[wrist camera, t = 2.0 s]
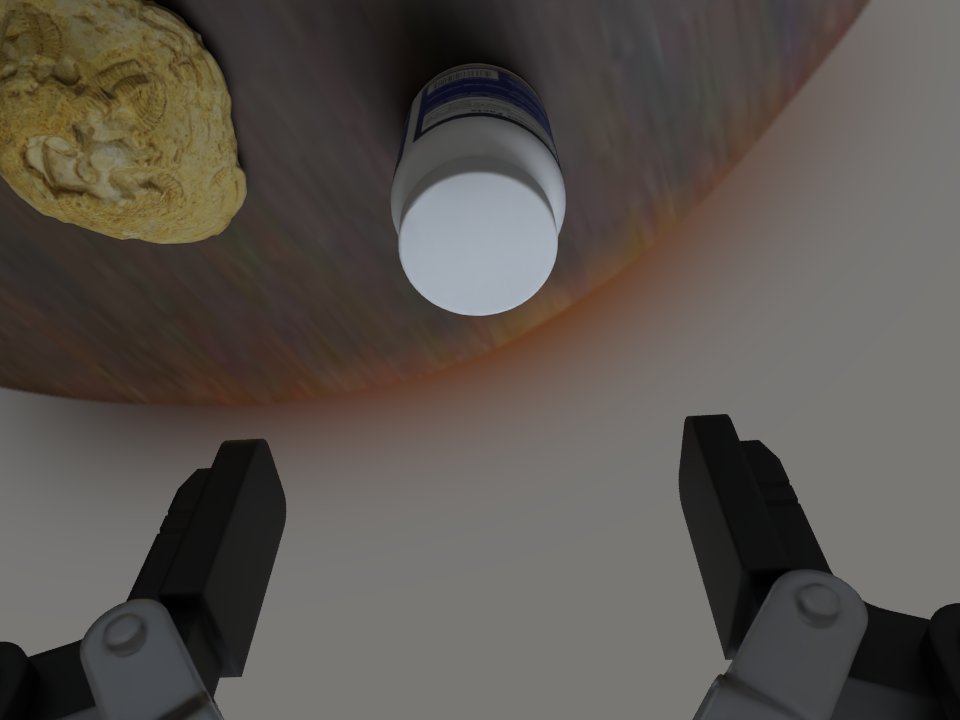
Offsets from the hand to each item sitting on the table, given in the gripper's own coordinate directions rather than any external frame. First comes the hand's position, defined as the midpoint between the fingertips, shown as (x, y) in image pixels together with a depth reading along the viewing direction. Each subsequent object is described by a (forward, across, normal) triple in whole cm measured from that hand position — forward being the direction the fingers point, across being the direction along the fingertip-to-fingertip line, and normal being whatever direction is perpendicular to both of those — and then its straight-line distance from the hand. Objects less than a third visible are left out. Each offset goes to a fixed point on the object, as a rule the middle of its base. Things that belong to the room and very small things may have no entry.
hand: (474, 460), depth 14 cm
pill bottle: (+19, 0, 0) cm, 19 cm away
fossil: (+19, +14, -2) cm, 24 cm away
